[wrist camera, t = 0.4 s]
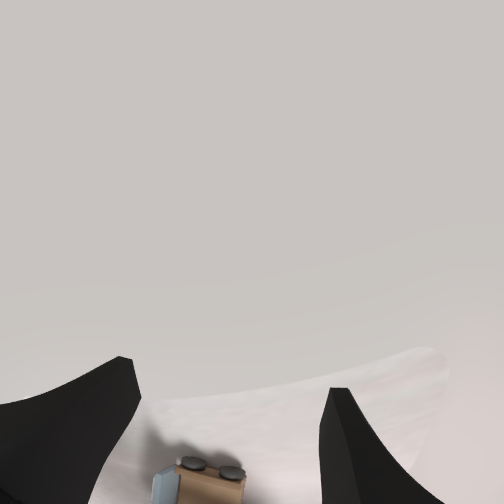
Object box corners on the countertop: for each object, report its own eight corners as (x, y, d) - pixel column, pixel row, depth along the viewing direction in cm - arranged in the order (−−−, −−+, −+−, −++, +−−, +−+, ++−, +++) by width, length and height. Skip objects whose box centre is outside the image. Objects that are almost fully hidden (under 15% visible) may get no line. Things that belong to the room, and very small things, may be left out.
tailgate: (173, 519, 26) (155, 533, 21) (165, 517, 26) (146, 529, 21) (180, 466, 30) (161, 475, 25) (172, 463, 30) (152, 472, 25)
